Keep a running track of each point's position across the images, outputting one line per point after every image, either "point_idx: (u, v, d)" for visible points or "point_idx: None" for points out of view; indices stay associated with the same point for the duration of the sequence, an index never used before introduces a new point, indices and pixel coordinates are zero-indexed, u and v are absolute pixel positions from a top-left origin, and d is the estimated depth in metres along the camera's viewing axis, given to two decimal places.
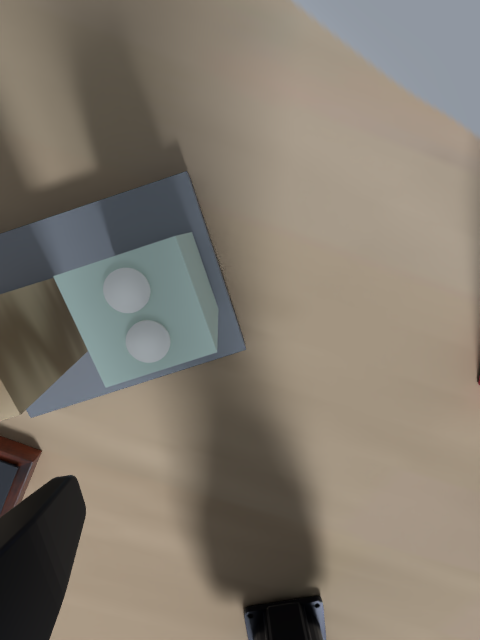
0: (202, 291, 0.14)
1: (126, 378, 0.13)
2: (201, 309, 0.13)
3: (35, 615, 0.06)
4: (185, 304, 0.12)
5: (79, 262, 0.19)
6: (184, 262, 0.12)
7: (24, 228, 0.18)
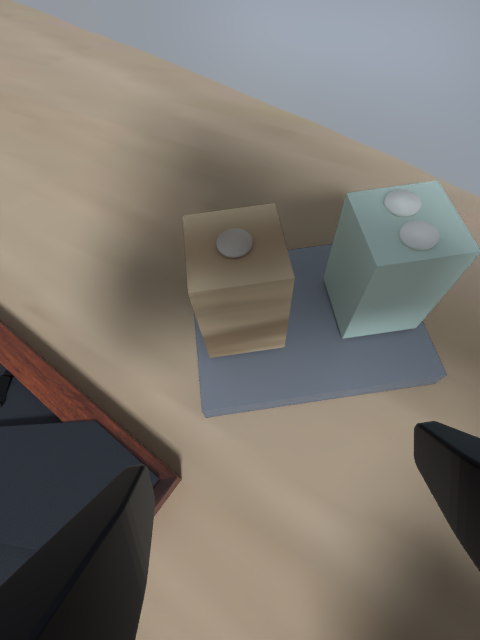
0: None
1: (396, 262, 0.14)
2: (462, 222, 0.15)
3: (128, 600, 0.06)
4: (448, 217, 0.15)
5: None
6: (445, 194, 0.16)
7: None
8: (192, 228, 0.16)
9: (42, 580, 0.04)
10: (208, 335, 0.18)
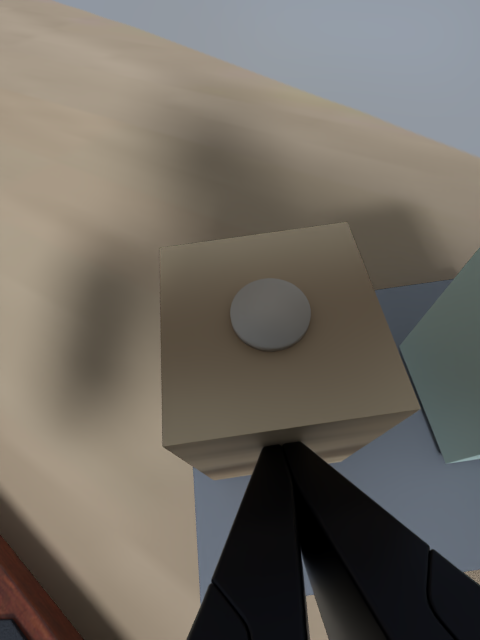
0: None
1: None
2: None
3: None
4: None
5: None
6: None
7: None
8: (179, 276, 0.08)
9: (265, 546, 0.04)
10: (211, 470, 0.09)
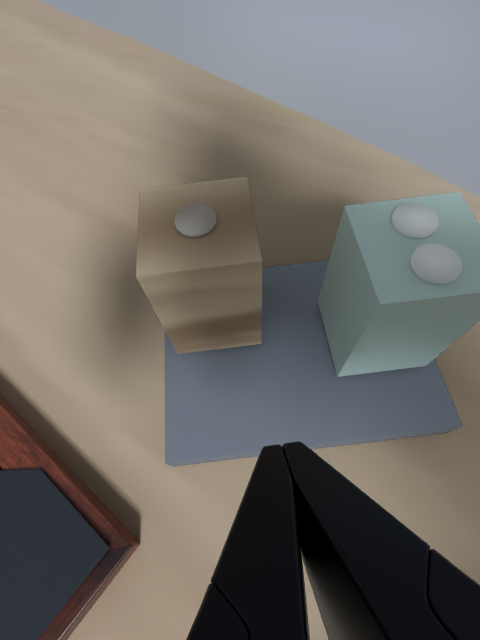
0: None
1: (405, 299, 0.11)
2: None
3: None
4: (473, 240, 0.12)
5: (281, 303, 0.20)
6: (469, 210, 0.13)
7: None
8: (149, 203, 0.14)
9: (265, 546, 0.04)
10: (170, 328, 0.16)
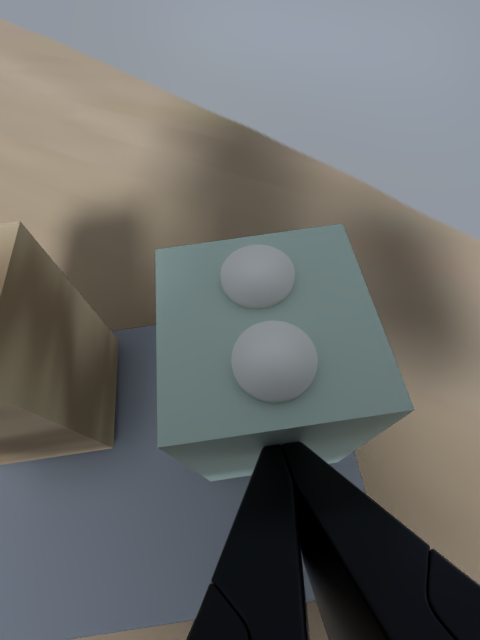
0: None
1: (208, 435, 0.06)
2: (379, 324, 0.07)
3: None
4: (350, 310, 0.07)
5: (156, 380, 0.14)
6: (353, 254, 0.08)
7: None
8: None
9: (265, 546, 0.04)
10: None
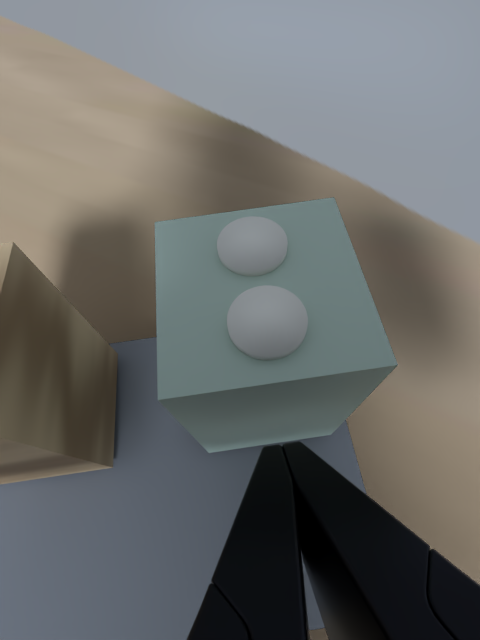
0: None
1: (204, 388, 0.06)
2: (366, 289, 0.07)
3: None
4: (340, 276, 0.07)
5: (156, 395, 0.14)
6: (343, 226, 0.08)
7: (111, 346, 0.15)
8: None
9: (265, 546, 0.04)
10: None
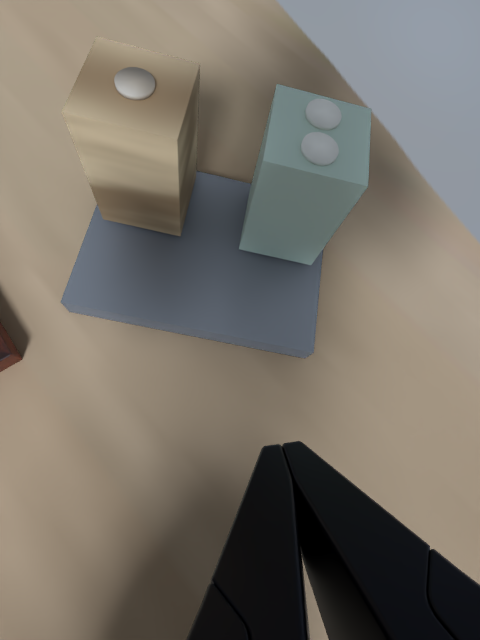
0: None
1: (284, 164, 0.14)
2: (368, 155, 0.15)
3: None
4: (358, 145, 0.15)
5: (213, 210, 0.21)
6: (370, 124, 0.15)
7: None
8: (100, 52, 0.14)
9: (265, 546, 0.04)
10: (96, 185, 0.17)
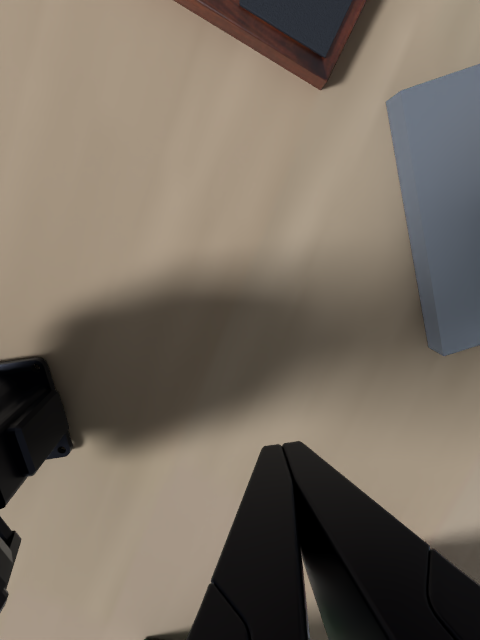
0: None
1: None
2: None
3: None
4: None
5: None
6: None
7: None
8: None
9: (265, 546, 0.04)
10: None
